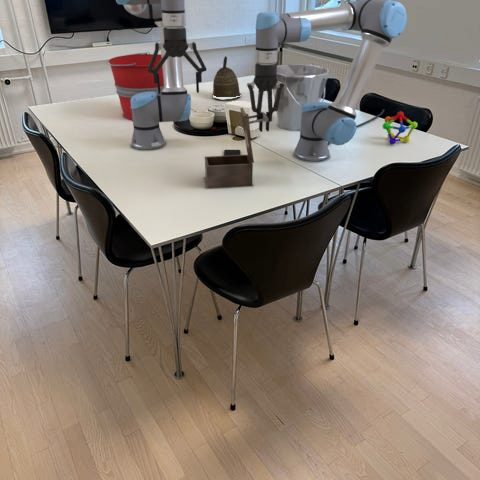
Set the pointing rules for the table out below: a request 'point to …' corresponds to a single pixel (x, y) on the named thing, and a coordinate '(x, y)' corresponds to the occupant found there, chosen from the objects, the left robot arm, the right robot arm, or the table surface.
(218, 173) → the chest
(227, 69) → the bell
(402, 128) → the educational toy
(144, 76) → the bucket
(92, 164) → the table surface
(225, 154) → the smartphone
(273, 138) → the table surface
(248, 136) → the lid
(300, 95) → the bucket
